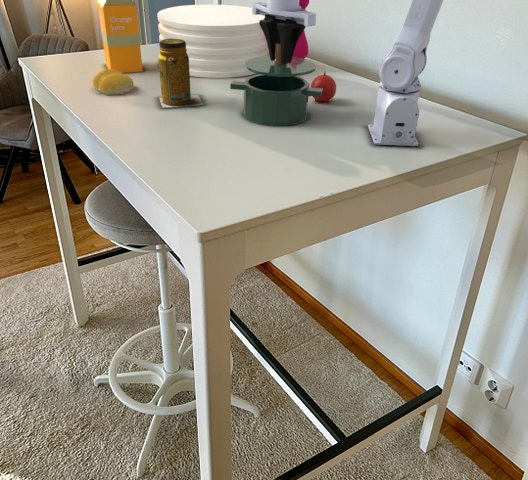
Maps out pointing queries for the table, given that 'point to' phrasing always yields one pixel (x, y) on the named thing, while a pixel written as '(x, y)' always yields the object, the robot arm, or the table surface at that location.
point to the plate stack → (215, 37)
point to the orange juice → (120, 35)
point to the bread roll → (112, 82)
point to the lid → (280, 65)
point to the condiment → (175, 75)
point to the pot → (276, 99)
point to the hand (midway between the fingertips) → (280, 61)
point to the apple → (324, 88)
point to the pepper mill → (302, 37)
